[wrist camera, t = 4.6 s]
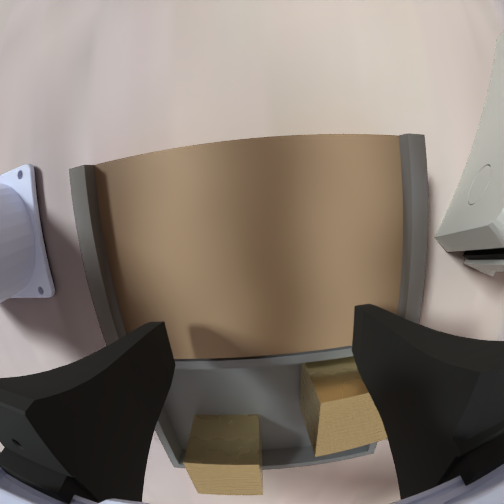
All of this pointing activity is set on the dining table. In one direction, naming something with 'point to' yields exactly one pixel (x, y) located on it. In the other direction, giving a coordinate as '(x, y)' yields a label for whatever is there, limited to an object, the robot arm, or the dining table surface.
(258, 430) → the wooden cube
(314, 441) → the tan wooden cube
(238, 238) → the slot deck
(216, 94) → the dining table surface
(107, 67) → the dining table surface
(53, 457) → the robot arm
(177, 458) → the tray
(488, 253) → the light grey rounded slab
